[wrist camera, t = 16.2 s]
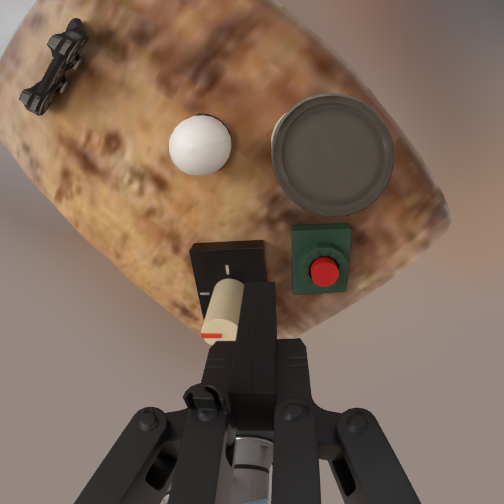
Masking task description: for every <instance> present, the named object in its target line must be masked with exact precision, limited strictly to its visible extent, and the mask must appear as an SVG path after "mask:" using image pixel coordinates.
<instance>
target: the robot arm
mask: <svg viewBox="0 0 504 504" xmlns="http://www.w3.org/2000/svg"><path fill="white" fill-rule="evenodd" d="M183 399H184V400H185V403H186V405H187V407H188V408H186V409H184V410H180V411H175V412H168V413H164V412H163V411H162V410H160V409H159V408H155V407H146V408H143V409H141V410H139V411H138V412H137V413H136V414H135V415H134V416H133V418H132V419H131V421H130V422H129V424H128V425H127V427H126V428H125V429H124V431H123V432H122V434H121V435H120V437H119V438H118V440H117V441H116V442H115V444H114V446H113V447H112V448H111V450H110V451H109V453H108V454H107V456H106V457H105V459H104V460H103V462H102V463H101V464H100V466H99V467H98V469H97V470H96V472H95V473H94V475H93V476H92V478H91V479H90V480H89V482H88V483H87V485H86V486H85V488H84V489H83V491H82V492H81V494H80V495H79V497H78V498H77V500H76V501H75V503H74V504H160V503H161V501H162V499H164V500H163V502H164V504H268V500H269V498H268V492H269V468H270V466H271V464H272V465H273V473H272V497H271V499H272V500H271V504H321V492H320V473H319V459H323V460H328V462H329V464H330V467H331V470H332V473H333V475H334V477H335V480H336V482H337V485H338V488H339V490H340V493H341V495H342V498H343V500H344V503H345V504H421V502H420V501H419V499H418V497H417V495H416V493H415V491H414V489H413V487H412V485H411V483H410V481H409V479H408V477H407V475H406V474H405V472H404V470H403V468H402V466H401V464H400V462H399V460H398V458H397V457H396V455H395V453H394V451H393V449H392V447H391V445H390V444H389V442H388V440H387V438H386V436H385V435H384V433H383V431H382V429H381V427H380V426H379V423H378V422H377V420H376V418H375V417H374V415H373V414H372V413H371V412H369V411H368V410H366V409H363V408H352V409H348V410H347V411H345V412H343V413H336V412H330V411H327V410H323V409H322V408H320V407H318V406H317V405H316V404H315V403H314V401H313V399H312V396H311V388H310V378H309V369H308V361H307V352H306V346H305V345H304V343H303V342H302V341H301V339H300V338H297V339H277V318H276V294H275V282H256V283H244V290H243V296H242V302H241V309H240V315H239V322H238V328H237V335H236V341H216V342H215V343H214V344H213V345H212V347H211V348H210V349H209V353H208V357H207V361H206V365H205V369H204V373H203V377H202V381H201V383H200V384H196V385H194V386H191V387H190V388H189V389H188V390H187V391H186V392H185V394H184V396H183ZM236 427H237V429H238V430H241V431H274V439H273V441H272V440H270V439H268V438H265V437H261V436H255V435H236ZM235 435H236V436H235ZM272 461H273V462H272Z"/></svg>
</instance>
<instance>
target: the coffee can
mask: <svg viewBox="0 0 504 504" xmlns="http://www.w3.org/2000/svg"><path fill="white" fill-rule="evenodd" d="M271 160H272V166H273V170H274V174H275V176H276V179H277V181H278V183H279V185H280V186H281V188H282V189H283V191H284V192H285V194H286V195H287V196H288V197H289V198H290V199H291V200H292V201H293V202H294V203H295V204H297V205H298V206H300V207H301V208H303V209H305V210H307V211H309V212H311V213H314V214H317V215H320V216H325V217H342V216H348V215H351V214H354V213H357V212H360V211H361V210H363V209H365V208H367V207H368V206H370V205H371V204H372V203H373V202H375V201H376V200H377V199H378V197H379V196H380V195H381V194H382V192H383V191H384V189H385V188H386V186H387V184H388V182H389V180H390V177H391V174H392V171H393V165H394V147H393V143H392V139H391V136H390V133H389V131H388V129H387V127H386V125H385V123H384V122H383V120H382V119H381V118H380V116H379V115H378V114H377V113H376V112H375V111H374V110H373V109H372V108H371V107H369V106H368V105H367V104H365V103H364V102H362V101H360V100H358V99H356V98H354V97H351V96H348V95H344V94H338V93H323V94H318V95H314V96H311V97H308V98H306V99H304V100H302V101H300V102H298V103H297V104H295V105H294V106H293V107H292V108H291V109H290V110H289V111H288V112H287V113H285V114H284V115H283V116H282V117H281V118H280V119H279V120H278V122H277V123H276V125H275V127H274V130H273V132H272V136H271Z"/></svg>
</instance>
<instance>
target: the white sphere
mask: <svg viewBox="0 0 504 504" xmlns="http://www.w3.org/2000/svg"><path fill="white" fill-rule="evenodd" d="M164 122H165V121H164ZM167 123H168V122H167ZM170 124H171V123H170ZM230 151H231V137H230V132H229V130H228V128H227V127H226V125H225V124H224V123H223V122H222V121H221V120H219V119H218V118H216V117H214V116H211V115H208V114H197V115H195V116H192V117H190V118H187V119H185V120H184V121H182V122H181V123H180V124H179V125H178V126H177V127H176V128H175V129H174V131H173V133H172V135H171V137H170V142H169V152H170V156H171V158H172V161H173V163H174V164H175V165H176V166H177V167H178V168H179V169H180V170H181V171H183V172H185V173H186V174H189V175H194V176H202V175H209V174H211V173H214V172H216V171H218V170H219V169H220V168H221V167H222V166H224V164H225V163H226V161H227V159H228V158H229V155H230Z"/></svg>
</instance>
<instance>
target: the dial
mask: <svg viewBox="0 0 504 504" xmlns="http://www.w3.org/2000/svg"><path fill="white" fill-rule="evenodd" d="M243 290H244V284H243V283H242V282H240V281H238V280H236V279H224V280H221V281H219V282H218V283H217V284H216V285H215V288H214V291H213V294H212V297H211V300H210V303H209V307H208V310H207V313H206V316H205V319H204V323H203V326H202V330H201V333H202V334H201V336H202V338H203V339H204V340H205V341H206V342H207V343H208V344H210V345H211V346H212V345H213V344H214V343H215V342H216V341H236V335H237V328H238V322H239V315H240V309H241V302H242V296H243Z"/></svg>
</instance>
